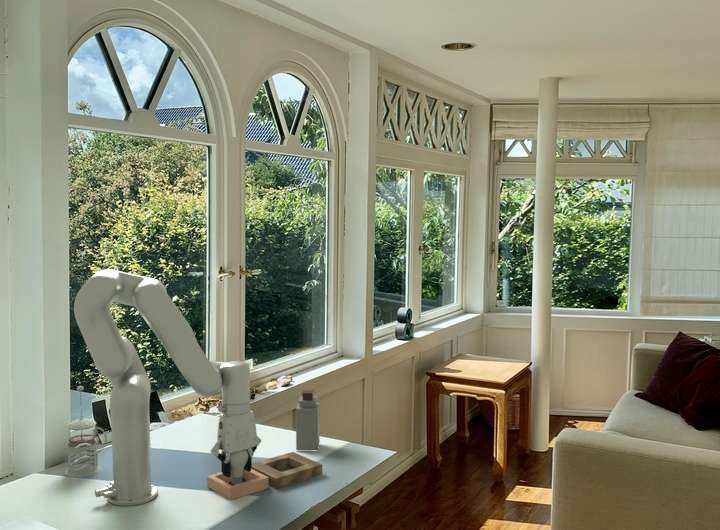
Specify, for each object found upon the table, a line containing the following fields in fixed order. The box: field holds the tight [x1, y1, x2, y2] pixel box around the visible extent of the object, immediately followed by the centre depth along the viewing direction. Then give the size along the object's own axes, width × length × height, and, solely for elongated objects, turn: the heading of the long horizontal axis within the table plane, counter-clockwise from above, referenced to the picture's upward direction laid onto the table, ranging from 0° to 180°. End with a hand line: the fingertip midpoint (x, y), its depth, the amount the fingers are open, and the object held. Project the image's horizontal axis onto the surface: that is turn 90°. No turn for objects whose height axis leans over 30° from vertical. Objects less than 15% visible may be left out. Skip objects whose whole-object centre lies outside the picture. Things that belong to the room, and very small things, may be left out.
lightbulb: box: [229, 450, 248, 485], centre depth 196 cm, size 6×6×11 cm
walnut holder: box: [251, 451, 323, 490], centre depth 206 cm, size 16×14×3 cm
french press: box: [64, 385, 108, 478], centre depth 208 cm, size 10×12×25 cm
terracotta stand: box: [206, 469, 270, 501], centre depth 197 cm, size 12×12×3 cm
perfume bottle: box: [295, 389, 321, 451], centre depth 228 cm, size 7×7×18 cm
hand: (236, 472), depth 196 cm, fingers closed on lightbulb, 5 cm apart
